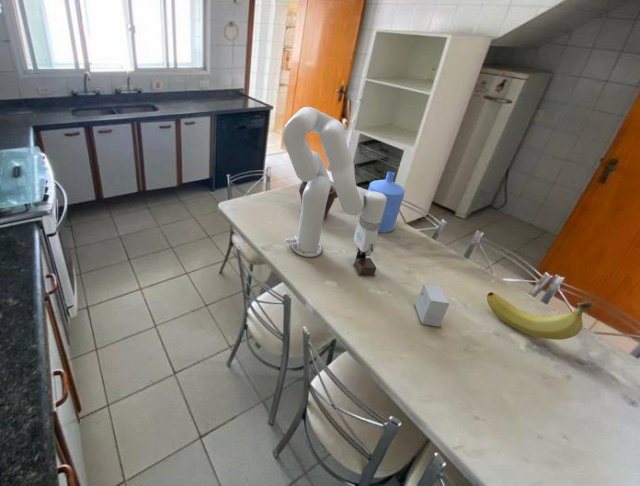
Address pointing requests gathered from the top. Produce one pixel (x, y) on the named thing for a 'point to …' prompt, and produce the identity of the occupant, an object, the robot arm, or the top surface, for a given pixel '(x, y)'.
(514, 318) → the banana
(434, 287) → the small box
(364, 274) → the walnut block
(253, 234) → the top surface
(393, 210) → the water jug
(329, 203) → the case
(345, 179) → the robot arm
